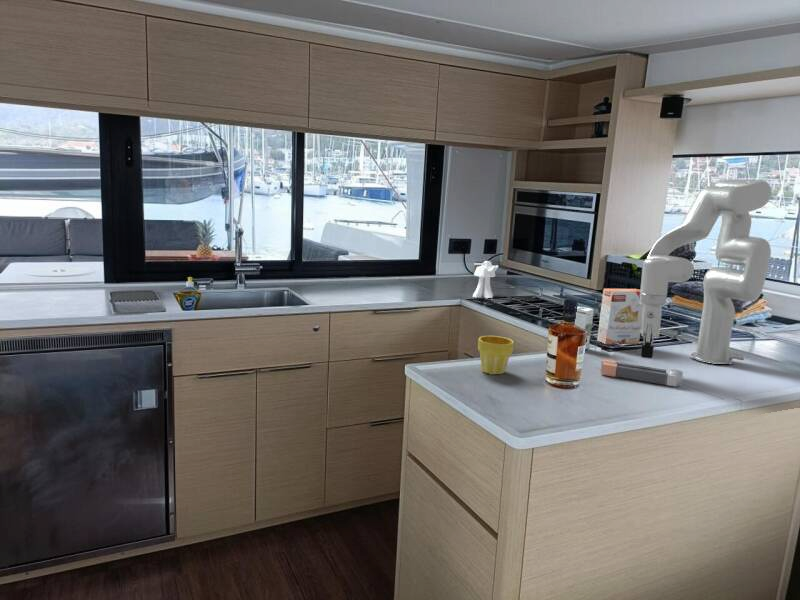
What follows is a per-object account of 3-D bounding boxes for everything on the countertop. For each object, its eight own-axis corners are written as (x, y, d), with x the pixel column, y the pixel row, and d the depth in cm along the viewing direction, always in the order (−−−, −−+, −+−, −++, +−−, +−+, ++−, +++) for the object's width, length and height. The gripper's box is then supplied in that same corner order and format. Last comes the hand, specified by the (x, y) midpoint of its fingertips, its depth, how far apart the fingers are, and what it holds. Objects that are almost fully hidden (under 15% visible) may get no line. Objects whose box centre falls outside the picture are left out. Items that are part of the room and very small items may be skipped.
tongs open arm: (665, 379, 177) (666, 368, 177) (664, 381, 175) (666, 371, 174) (601, 368, 185) (603, 359, 184) (600, 371, 182) (602, 361, 182)
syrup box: (573, 345, 213) (577, 305, 210) (589, 349, 209) (594, 308, 206) (566, 348, 208) (571, 307, 206) (583, 352, 205) (587, 310, 202)
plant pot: (518, 372, 177) (520, 341, 176) (496, 379, 170) (499, 346, 169) (490, 364, 185) (492, 333, 183) (468, 370, 178) (471, 338, 176)
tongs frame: (680, 384, 174) (682, 370, 174) (680, 388, 170) (682, 375, 169) (603, 371, 183) (604, 358, 183) (601, 375, 179) (602, 362, 178)
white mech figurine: (464, 295, 303) (466, 260, 299) (484, 293, 310) (487, 259, 307) (479, 299, 293) (482, 263, 290) (500, 298, 300) (503, 262, 297)
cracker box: (605, 349, 210) (612, 290, 206) (595, 344, 215) (602, 287, 211) (639, 348, 213) (647, 291, 210) (629, 344, 219) (636, 287, 215)
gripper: (665, 305, 172) (658, 365, 176) (666, 296, 186) (660, 352, 190) (637, 302, 176) (631, 362, 179) (641, 293, 189) (635, 349, 193)
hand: (646, 357), depth 184 cm, fingers closed
